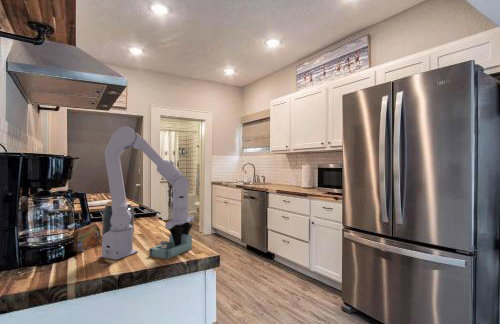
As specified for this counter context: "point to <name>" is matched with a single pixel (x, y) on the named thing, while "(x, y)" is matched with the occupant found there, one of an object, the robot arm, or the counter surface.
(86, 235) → the tin
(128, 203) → the canister
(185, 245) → the link
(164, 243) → the peg
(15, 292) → the counter surface
